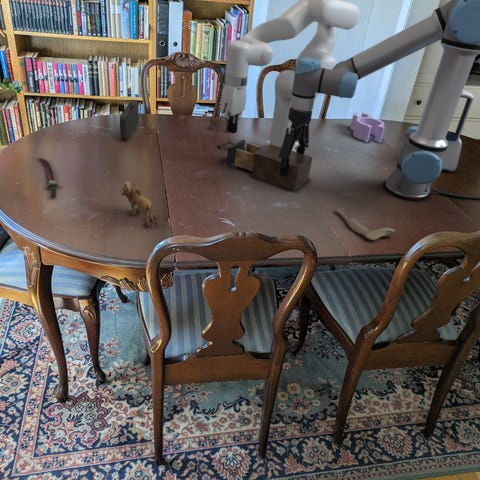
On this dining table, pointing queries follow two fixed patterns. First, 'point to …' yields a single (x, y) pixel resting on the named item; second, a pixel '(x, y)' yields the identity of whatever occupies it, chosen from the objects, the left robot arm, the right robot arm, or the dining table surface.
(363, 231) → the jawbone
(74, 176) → the dining table surface
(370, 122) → the clip
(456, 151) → the electronic device
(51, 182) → the sword
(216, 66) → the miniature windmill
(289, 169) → the dark wooden block
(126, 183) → the lion figurine
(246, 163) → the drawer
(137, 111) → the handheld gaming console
